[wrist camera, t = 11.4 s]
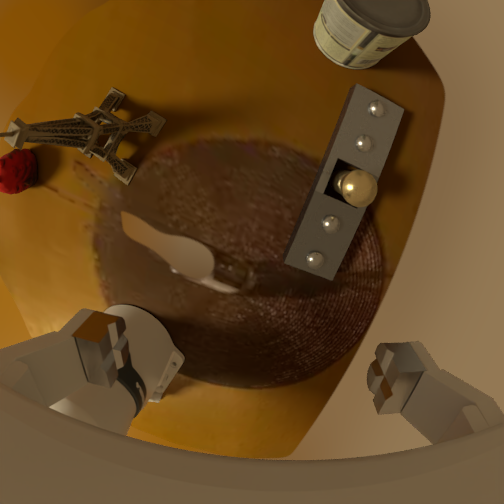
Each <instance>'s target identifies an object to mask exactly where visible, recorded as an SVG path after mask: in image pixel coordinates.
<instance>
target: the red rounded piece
mask: <svg viewBox="0 0 504 504" xmlns="http://www.w3.org/2000/svg"><path fill="white" fill-rule="evenodd" d="M37 167H38V166H37V160H36V156H35V155H34V154H33V153H32V151H31V150H29V149H22V150H20V149H14V150H13V151H11V152H10V153H8V154H6V155H4V156H2V157H1V158H0V192H3V193H8V194H14V193H15V194H17V193H20V192H22V191H24V190H26V189H27V188H29V187H30V186H32V185H34V184H35V182H36V180H37V178H38V174H37V169H38V168H37Z"/></svg>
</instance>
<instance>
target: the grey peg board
mask: <svg viewBox="0 0 504 504" xmlns="http://www.w3.org/2000/svg"><path fill="white" fill-rule="evenodd" d="M403 112H404V109H403V108H401V107H399V106H398V105H396V104H394V103H393V102H391V101H389V100H387V99H385V98H384V97H382V96H380V95H378V94H376V93H374V92H373V91H371V90H369V89H367V88H365V87H363V86H361V85H359V84H355V85H354V86H353V87H351V88H350V90H349V93H348V95H347V98H346V101H345V103H344V106H343V109H342V111H341V114H340V116H339V119H338V122H337V124H336V127H335V129H334V132H333V134H332V137H331V139H330V142H329V145H328V147H327V150H326V152H325V155H324V157H323V160H322V162H321V165H320V167H319V170H318V172H317V175H316V177H315V179H314V182H313V184H312V187H311V189H310V192H309V194H308V197H307V199H306V201H305V204H304V206H303V209H302V211H301V213H300V216H299V218H298V220H297V223H296V225H295V228H294V230H293V232H292V235H291V237H290V239H289V242H288V244H287V246H286V249H285V251H284V253H283V260H284V263H285V264H288V265H291V266H293V267H296V268H299V269H302V270H304V271H307V272H310V273H313V274H315V275H318V276H321V277H323V278H326V279H329V280H333V278H334V276H335V274H336V272H337V270H338V268H339V266H340V264H341V262H342V260H343V258H344V256H345V254H346V251H347V249H348V247H349V245H350V243H351V241H352V239H353V237H354V234H355V232H356V230H357V228H358V226H359V223H360V221H361V219H362V217H363V214H364V212H365V210H366V208H367V206H365V207H355V206H353V205H351V204H348V203H346V202H344V201H342V200H339V199H337V198H335V197H333V196H330V195H328V194H326V193H324V191H325V188H326V186H327V183H328V181H329V178H330V176H331V174H332V171H333V169H334V166H335V164H336V161H337V160H339V161H342V162H344V163H346V164H348V165H350V166H352V167H354V168H356V169H359V170H363V171H367V172H368V173H370V174H371V175H372V176H373V177H374V178H375V180H376V183H377V181H378V179H379V176H380V174H381V171H382V169H383V166H384V164H385V161H386V159H387V156H388V154H389V151H390V148H391V146H392V143H393V140H394V137H395V135H396V132H397V129H398V126H399V123H400V121H401V118H402V115H403Z"/></svg>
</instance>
